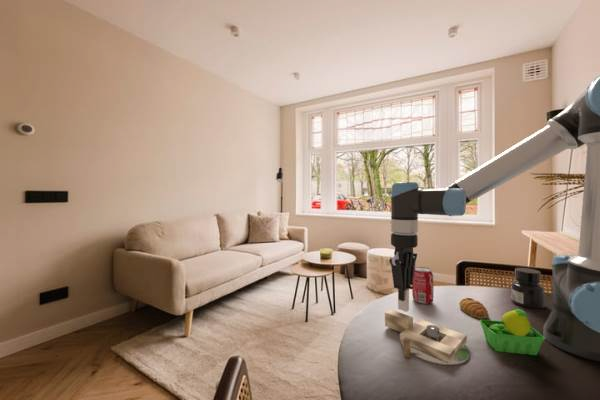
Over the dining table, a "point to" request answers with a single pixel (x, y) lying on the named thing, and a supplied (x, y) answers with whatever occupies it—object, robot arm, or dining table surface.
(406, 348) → the dowel
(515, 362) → the dining table surface
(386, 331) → the dining table surface
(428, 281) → the soda can
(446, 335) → the wooden block frame
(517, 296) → the ink bottle
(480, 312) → the pastry
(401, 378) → the dining table surface
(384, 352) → the dining table surface
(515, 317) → the fruit basket
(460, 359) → the pot lid
